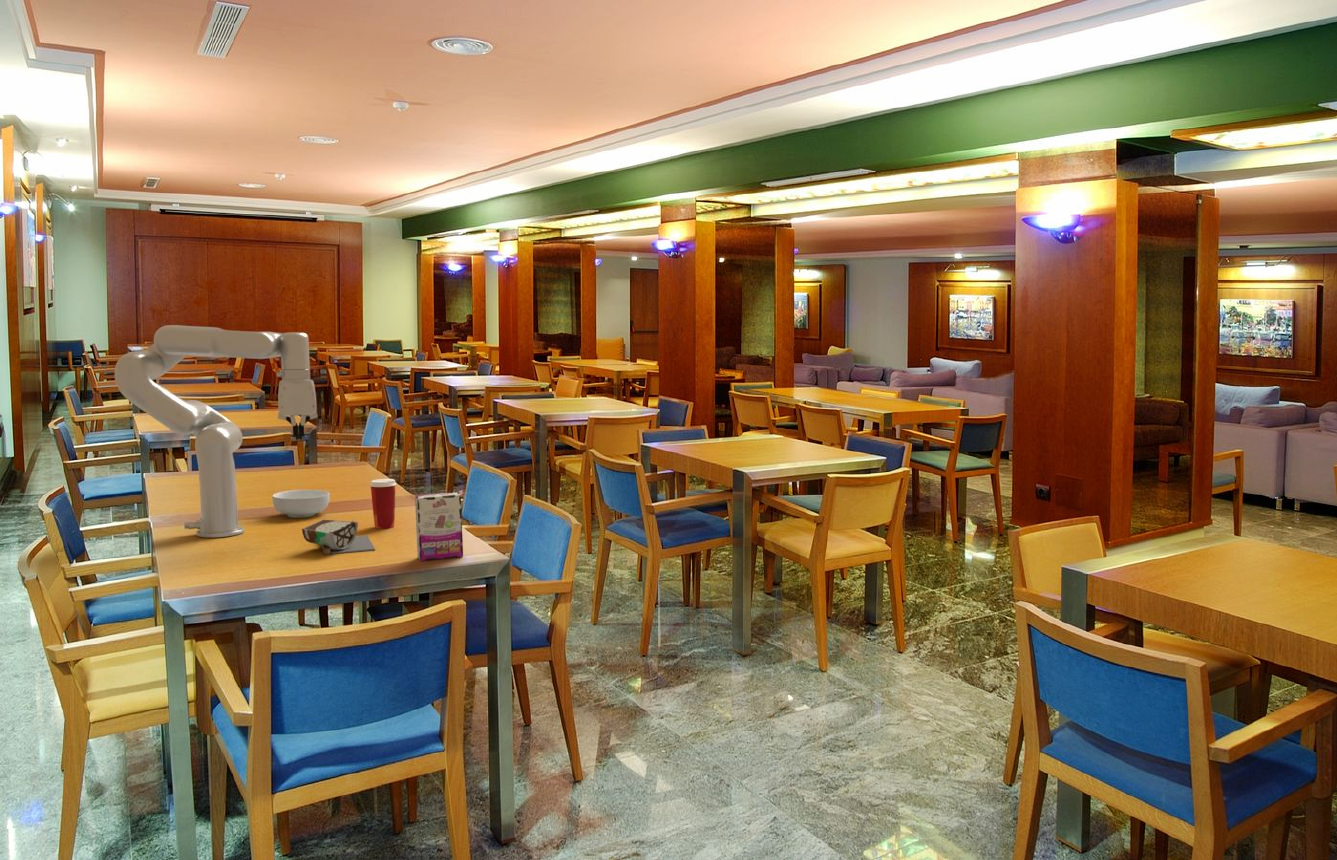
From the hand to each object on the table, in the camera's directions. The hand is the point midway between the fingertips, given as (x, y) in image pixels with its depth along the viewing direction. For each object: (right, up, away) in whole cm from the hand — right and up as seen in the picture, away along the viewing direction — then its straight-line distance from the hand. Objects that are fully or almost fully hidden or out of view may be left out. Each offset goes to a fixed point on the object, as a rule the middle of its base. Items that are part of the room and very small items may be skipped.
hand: (298, 439), depth 282 cm
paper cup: (+22, -27, +9) cm, 36 cm away
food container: (+11, -26, -20) cm, 35 cm away
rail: (+14, -29, -18) cm, 37 cm away
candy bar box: (+48, -31, -30) cm, 64 cm away
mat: (+20, -29, -16) cm, 38 cm away
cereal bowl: (-9, -25, +27) cm, 38 cm away
